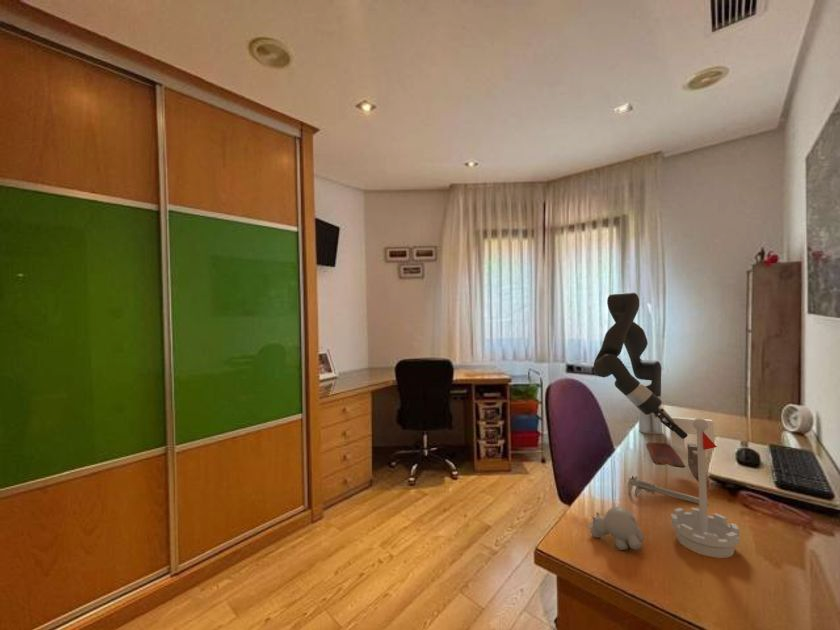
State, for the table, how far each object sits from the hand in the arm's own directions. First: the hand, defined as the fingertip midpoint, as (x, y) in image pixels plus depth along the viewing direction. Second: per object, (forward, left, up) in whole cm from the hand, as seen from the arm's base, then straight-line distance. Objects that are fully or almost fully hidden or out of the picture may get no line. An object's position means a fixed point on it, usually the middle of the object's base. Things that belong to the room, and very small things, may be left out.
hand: (684, 435), depth 133 cm
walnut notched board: (0, +3, -12) cm, 13 cm away
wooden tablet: (-16, -5, -13) cm, 21 cm away
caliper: (+26, -9, -13) cm, 30 cm away
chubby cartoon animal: (+56, -23, -13) cm, 62 cm away
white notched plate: (0, +2, -4) cm, 4 cm away
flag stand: (+48, -4, -13) cm, 50 cm away
